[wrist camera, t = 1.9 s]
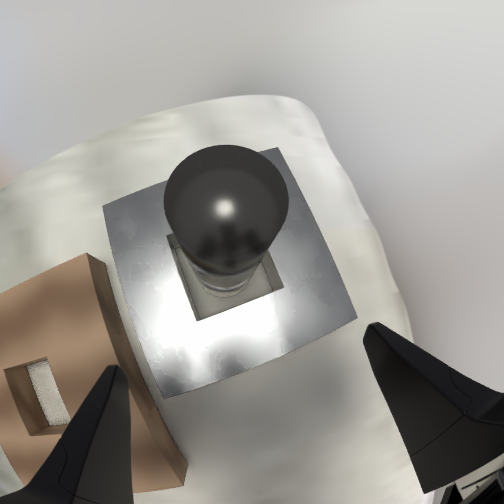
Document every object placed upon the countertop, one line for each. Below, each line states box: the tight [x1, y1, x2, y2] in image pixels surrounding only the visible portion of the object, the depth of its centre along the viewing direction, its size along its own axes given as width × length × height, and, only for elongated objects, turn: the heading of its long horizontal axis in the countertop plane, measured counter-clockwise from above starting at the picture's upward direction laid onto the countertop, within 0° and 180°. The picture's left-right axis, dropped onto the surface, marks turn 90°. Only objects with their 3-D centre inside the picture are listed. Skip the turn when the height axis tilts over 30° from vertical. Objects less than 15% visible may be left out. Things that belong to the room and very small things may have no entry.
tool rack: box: [0, 253, 188, 493], centre depth 15 cm, size 18×18×4 cm
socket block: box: [103, 147, 358, 399], centre depth 19 cm, size 14×14×4 cm
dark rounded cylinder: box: [163, 145, 289, 297], centre depth 15 cm, size 4×4×13 cm
